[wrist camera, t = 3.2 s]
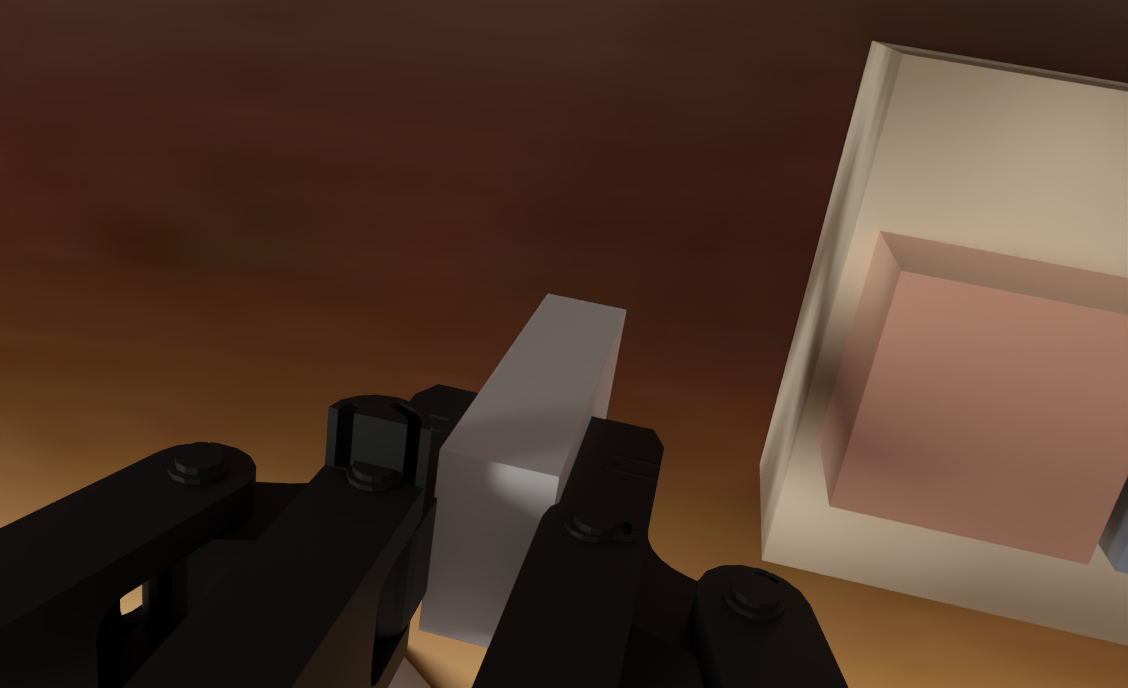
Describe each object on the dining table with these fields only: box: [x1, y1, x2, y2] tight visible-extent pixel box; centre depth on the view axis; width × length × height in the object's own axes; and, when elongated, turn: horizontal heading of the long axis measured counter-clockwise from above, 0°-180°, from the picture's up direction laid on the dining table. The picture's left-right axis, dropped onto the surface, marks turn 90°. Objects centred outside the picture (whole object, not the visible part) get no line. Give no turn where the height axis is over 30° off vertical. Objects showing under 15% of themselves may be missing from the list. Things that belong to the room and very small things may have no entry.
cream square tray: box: [760, 41, 1128, 646], centre depth 22 cm, size 12×12×5 cm
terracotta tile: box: [819, 231, 1128, 565], centre depth 19 cm, size 5×5×3 cm
